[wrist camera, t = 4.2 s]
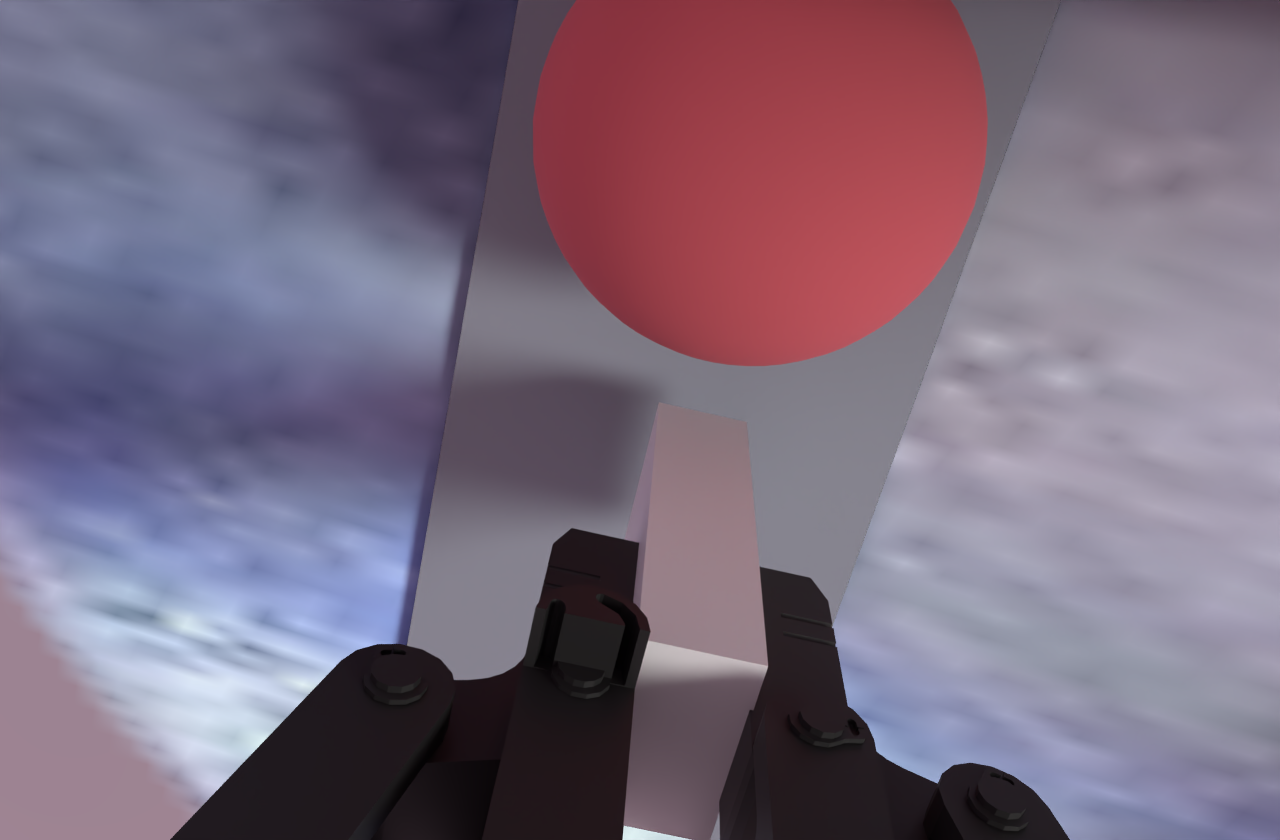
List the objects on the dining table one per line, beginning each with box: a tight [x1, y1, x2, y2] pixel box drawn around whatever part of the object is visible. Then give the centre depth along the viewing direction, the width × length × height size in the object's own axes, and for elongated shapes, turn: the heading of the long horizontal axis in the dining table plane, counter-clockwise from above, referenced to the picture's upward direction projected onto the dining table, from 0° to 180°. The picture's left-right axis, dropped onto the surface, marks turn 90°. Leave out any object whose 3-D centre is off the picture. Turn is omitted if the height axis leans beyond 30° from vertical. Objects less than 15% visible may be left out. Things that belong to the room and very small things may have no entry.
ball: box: [533, 0, 988, 366], centre depth 15 cm, size 6×6×6 cm
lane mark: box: [407, 0, 1061, 840], centre depth 18 cm, size 28×8×1 cm, turn 167°
